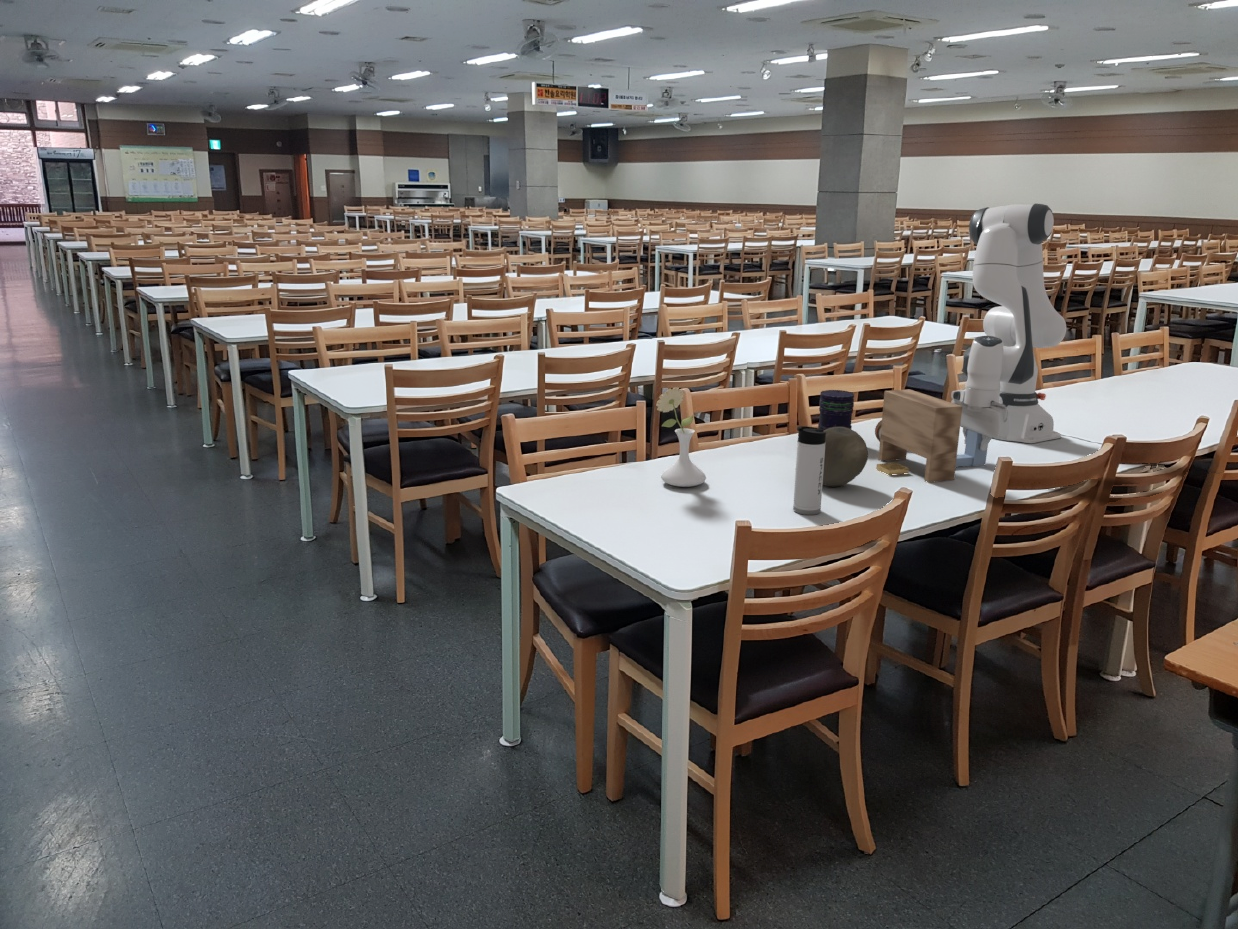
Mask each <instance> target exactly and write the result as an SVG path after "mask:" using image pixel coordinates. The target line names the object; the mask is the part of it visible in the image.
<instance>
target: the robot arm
mask: <svg viewBox="0 0 1238 929" xmlns="http://www.w3.org/2000/svg"><path fill="white" fill-rule="evenodd" d="M1054 219H1055V218H1054V214H1053V210H1052V209H1051V208H1050V207H1049V205H1047V204H1044V203H1034V204H1032V203H1031V204H1030V203H1014V204H1008V205H1000V206H993V207H983V208H980V209H977V210H976V211H975V212H974V213H973V214H972V215H971V217H970V220H969V223H968V224H969V225H968V233H969V238H970V240H971V241H972V242H973V243H974V245H975V246H976V248H975V253H974V258H973V265H972V267H973V268H972V285H973V288H974V290H975V291H976V293H977V294H979V295H980V296H981V297H982V298H985V299H986V300H987V301H988V300H989V301H991V302H993V303H995V304H998V305H1000V306H994V307H992V308H990V309H989V310H988V311H987V312H986V314H985V315H984V318H983V321H982V326H983V331H984V334H985V335H980V336H977V337H974V339H973V340H972V342H971V343H972V344H971V346H969V347H968V348H967V349H965V351H963V353H962V354H963V360H962V368H961V372H962V373H963V375H964V376H966V377H967V380H966V382H965V385H964V388H963V389H959V390H952V391H951V394H950V397H951V401H950V402H951V403H954V404H957V405H960V406H962V415H961V424H960V428H962V433H963V436H964V444H965V445H966V438H967V431H968V429H969V430H972V431H974V432H977V433H980V434H982V438H983V440H982V442H981V443H979V445H978V446H979V447H978V449H979V450H982V451H985V450H987V451H988V448H987V445H988V446H989V443H990V442H991V441H992V439H994V440H1001V441H1008V442H1018V443H1024V444H1036V443H1040V442H1046V441H1051V440H1055V439H1056V440H1057V439H1060V438H1061V437H1062V434H1061V433H1060V432H1058V431H1056V430H1054V425H1055V424H1054V422H1055V421H1054V418H1053V416H1052V415H1051V414H1050V413H1049V412H1047V411H1046V409H1044V408H1043V407H1042V406H1041V405H1040V403H1039V400H1041V401H1045V399H1046V398H1047V394H1046V393H1043V392H1038V393H1037V392H1036V387H1037V379H1038V374H1039V372H1038V371H1039V370H1038V369H1039V367H1038V364H1037V362H1036V357H1035V352H1034V348H1036V349H1045V348H1046V349H1047V348H1048V349H1049V348H1054V347H1057V346H1059V345H1060V343H1062V341H1063V339H1064V338H1065V336H1066V333H1067V323H1066V320H1065V318H1064V316H1062V315H1061V314H1060V313H1059V312H1058V311H1057V310H1056V309H1055V307H1054V306H1053V305H1052V302H1051V300H1050V299H1049V296H1048V294H1047V291H1046V287H1045V278H1044V252H1043V250H1044V249H1043V242H1045V241H1047V240H1048V239H1049V238H1050V236H1051V235H1052V233H1053V232H1052V231H1053V230H1054V223H1055V221H1054Z"/></svg>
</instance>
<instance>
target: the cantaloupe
mask: <svg viewBox="0 0 1238 929" xmlns="http://www.w3.org/2000/svg"><path fill="white" fill-rule="evenodd" d="M824 432H826V438H825V442H826V443H825V457H824V471H823V484H822V486H826V487H830V488H831V487H840V486H844V485H846V484H848V483H850V482H852V481H853V480H855V479H856V477H858V476H859V475H860V474H861V473H862V472H863V470H864V469H865V466H866V464H867V462H868V460H869V448H868V446H867V444H866V440H864V438H863V437H862V436H861V435H860V434H859V433H858V432H856V431H854V429H849V428H846V427H832V428H828V429H826V430H824Z"/></svg>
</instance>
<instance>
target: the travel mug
mask: <svg viewBox="0 0 1238 929" xmlns="http://www.w3.org/2000/svg"><path fill="white" fill-rule="evenodd" d="M796 431H797V432H798V434H797V435H798V436H797V445H796V461H795V474H794V475H795V476H794V492H793V503H792V504H793V505H792V506H793V507H792V510H793V511H794V512H795V513H797V514H799V515H804V516H814V515H818V514H820V512H821V511H822V510H821V508H822V499H823V498H822V495H823V471H824V457H825V443H826V442H825V438H826V432H824V431H823V430H822V429H819V428H818V427H814V426H807V425H806V426H804V425H803V426H797V427H796Z"/></svg>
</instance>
